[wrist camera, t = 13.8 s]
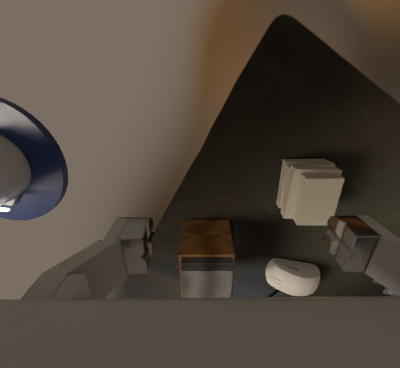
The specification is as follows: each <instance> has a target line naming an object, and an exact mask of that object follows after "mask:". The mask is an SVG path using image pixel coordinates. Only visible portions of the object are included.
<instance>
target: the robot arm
mask: <svg viewBox="0 0 400 368" xmlns="http://www.w3.org/2000/svg"><path fill="white" fill-rule="evenodd" d="M30 181H31V170H30V166H29V163H28V161H27V159H26V158H25V156H24V154H23V153H22V152H21V151H20V149H19V148H18V147H17V146H16V145H15V144H13V143H12V142H11V141H10V140H8V139H7V138H5V137H3V136H2V135H0V206H1V205H7V206H12V205H14V204H16V203H17V202H18V199H19V196H20V194H21V193H22V192H24V191H25V190H26V189H27V188H28V186H29V184H30ZM9 210H10V209H9V208H2V207H0V211H3V212H7V211H9ZM327 225H328V227H329V228H328V229H327V230H326V231H325V232H324V236H323V241H324V245H325V248H326V249H327V251H328V252H329V253H331V254H333V255H334V256H335V261H336V262H337V263H338V265H339V266H340V267H341V268H342V270H343V271H344V272H365V274H367V275H368V276H370V277H371V278H373V279H374V280H376V281H377V282H379V283H380V284H382V285H383V286H385V287H386V288H387V289H389V290H390V291H392V292H393V293H395V294H396V295H398V296H380V297H260V298H163V299H161V298H159V299H158V298H153V299H152V298H151V299H104V298H105V297H106V296H107V295H108V294H109V293H110V292H111V291H112V290H113V289H114V288H115V287H116V286H117V285H118V284H119V283H120V282H121V281H122V280H123V279H124V278H125V277H126V276H127V274H146V273H148V270H149V267H150V263H151V258H150V256H151V255H152V254H153V252H154V247H155V235H154V233H153V232H152V228H153V220H152V218H136V217H135V218H134V217H132V218H131V217H130V218H128V217H122V218H117V219H116V221H115V222H114V224H113V226H112V227H111V229H110V230H109V232H108V233H107V235H106V237H105V238H104V240H99V241H97V242H96V243H94V244H92V245H90V246H89V247H87V248H85V249H83V250H82V251H80V252H78V253H76V254H75V255H73V256H71V257H70V258H68V259H66V260H64V261H63V262H61V263H59V264H58V265H56V266H54V267H52V268H51V269H49V270H47V271H45V272H44V273H42V274H41V276H40V277H39V278H38V279H37V280H36V281H35V282H34V284H33V285H32V286H31V287H30V289H29V290H28V291H27V292H26V293H25V294H24V295H23V297H22V298H21V299H20V300H0V368H400V237H396V236H395V235H393V234H392V233H391V232H389V231H388V230H387V229H385V228H384V227H383V226H381V225H380V224H379V223H377V222H376V221H375V220H373V219H372V218H371V217H369V216H367V215H353V216H330V218H329V219H328V222H327Z"/></svg>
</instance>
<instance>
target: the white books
mask: <svg viewBox="0 0 400 368" xmlns="http://www.w3.org/2000/svg"><path fill="white" fill-rule="evenodd" d="M300 173H337V174H338V175H340V176H341V174H342V170H341V169H339V168H337V167H335V164H334V163H333V162H331V161H327V160H326V159H283V162H282V169H281V175H280V182H279V189H278V195H277V202H276V204H277V206H278V207H279V208H281V212H280V213H281V215H282V216H283V218H286V219H293V218H292V215H293V210H294V204H295V199H296V194H297V189H298V184H299V178H300Z"/></svg>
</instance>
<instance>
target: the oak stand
mask: <svg viewBox="0 0 400 368" xmlns="http://www.w3.org/2000/svg"><path fill="white" fill-rule="evenodd" d="M234 262H235V252H234V247H233V241H232V236H231V230H230V224H229V220H184V224H183V230H182V237H181V243H180V249H179V267H180V280H181V293H182V298H232V293H233V277H234Z"/></svg>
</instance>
